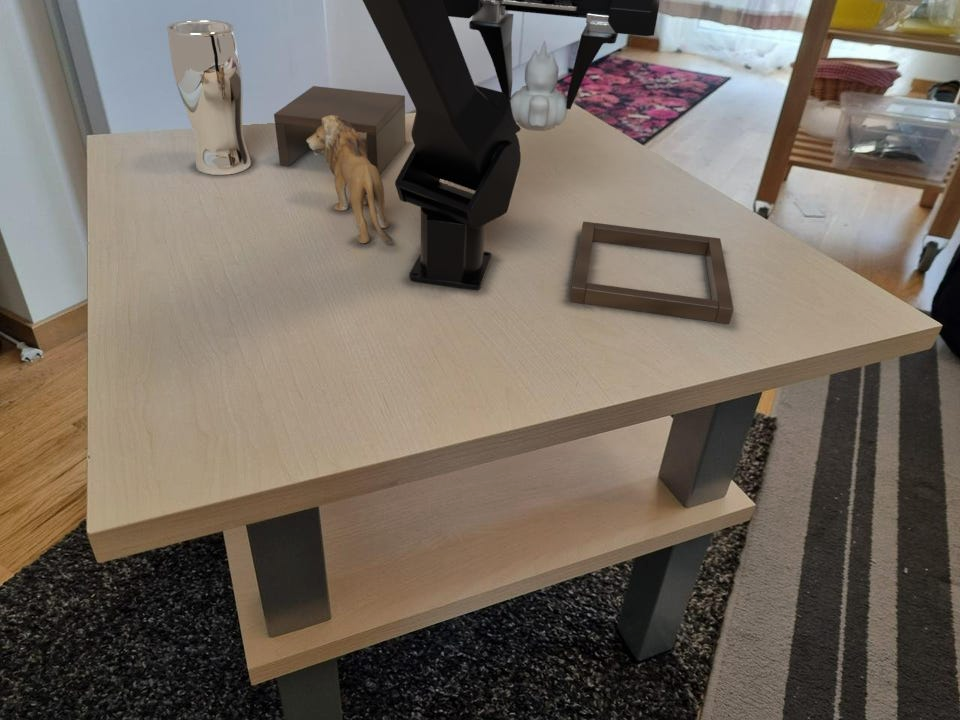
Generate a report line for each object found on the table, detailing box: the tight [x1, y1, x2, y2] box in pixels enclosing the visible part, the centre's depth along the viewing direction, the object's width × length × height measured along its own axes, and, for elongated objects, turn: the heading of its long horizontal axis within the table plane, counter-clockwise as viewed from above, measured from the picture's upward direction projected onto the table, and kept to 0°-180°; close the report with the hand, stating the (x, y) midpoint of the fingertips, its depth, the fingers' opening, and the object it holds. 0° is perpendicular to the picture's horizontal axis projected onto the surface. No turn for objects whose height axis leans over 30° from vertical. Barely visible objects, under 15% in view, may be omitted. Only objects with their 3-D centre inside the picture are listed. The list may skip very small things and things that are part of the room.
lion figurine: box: [306, 115, 394, 244], centre depth 71 cm, size 15×5×9 cm, turn 33°
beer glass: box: [166, 19, 252, 176], centre depth 79 cm, size 7×7×15 cm
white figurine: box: [510, 39, 568, 132], centre depth 66 cm, size 5×7×8 cm
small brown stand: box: [273, 85, 407, 175], centre depth 86 cm, size 12×12×6 cm
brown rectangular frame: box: [569, 221, 734, 325], centre depth 66 cm, size 14×14×2 cm
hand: (538, 104), depth 66 cm, fingers closed on white figurine, 5 cm apart
